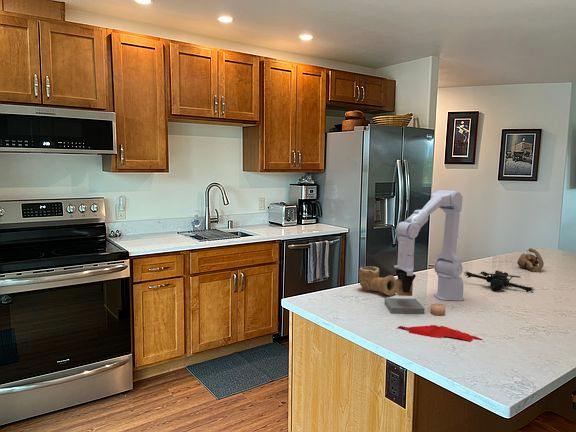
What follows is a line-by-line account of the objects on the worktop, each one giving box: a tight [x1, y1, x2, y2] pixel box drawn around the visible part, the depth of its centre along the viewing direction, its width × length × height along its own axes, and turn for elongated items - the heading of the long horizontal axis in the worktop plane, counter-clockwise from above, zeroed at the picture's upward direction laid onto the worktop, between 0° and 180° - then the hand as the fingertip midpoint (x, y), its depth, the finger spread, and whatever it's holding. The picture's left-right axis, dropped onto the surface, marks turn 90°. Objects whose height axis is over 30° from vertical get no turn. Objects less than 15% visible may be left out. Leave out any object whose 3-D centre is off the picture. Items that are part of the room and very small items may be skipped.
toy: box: [463, 270, 536, 293], centre depth 196 cm, size 29×7×30 cm
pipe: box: [358, 265, 397, 297], centre depth 181 cm, size 9×16×10 cm, turn 45°
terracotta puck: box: [429, 303, 446, 317], centre depth 155 cm, size 5×5×3 cm
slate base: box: [383, 297, 426, 315], centre depth 160 cm, size 12×12×2 cm
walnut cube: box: [395, 278, 414, 297], centre depth 159 cm, size 5×5×5 cm
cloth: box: [396, 324, 484, 343], centre depth 136 cm, size 26×14×2 cm, turn 58°
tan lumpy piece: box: [516, 248, 544, 273], centre depth 228 cm, size 13×9×15 cm
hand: (404, 290), depth 160 cm, fingers closed on walnut cube, 5 cm apart
